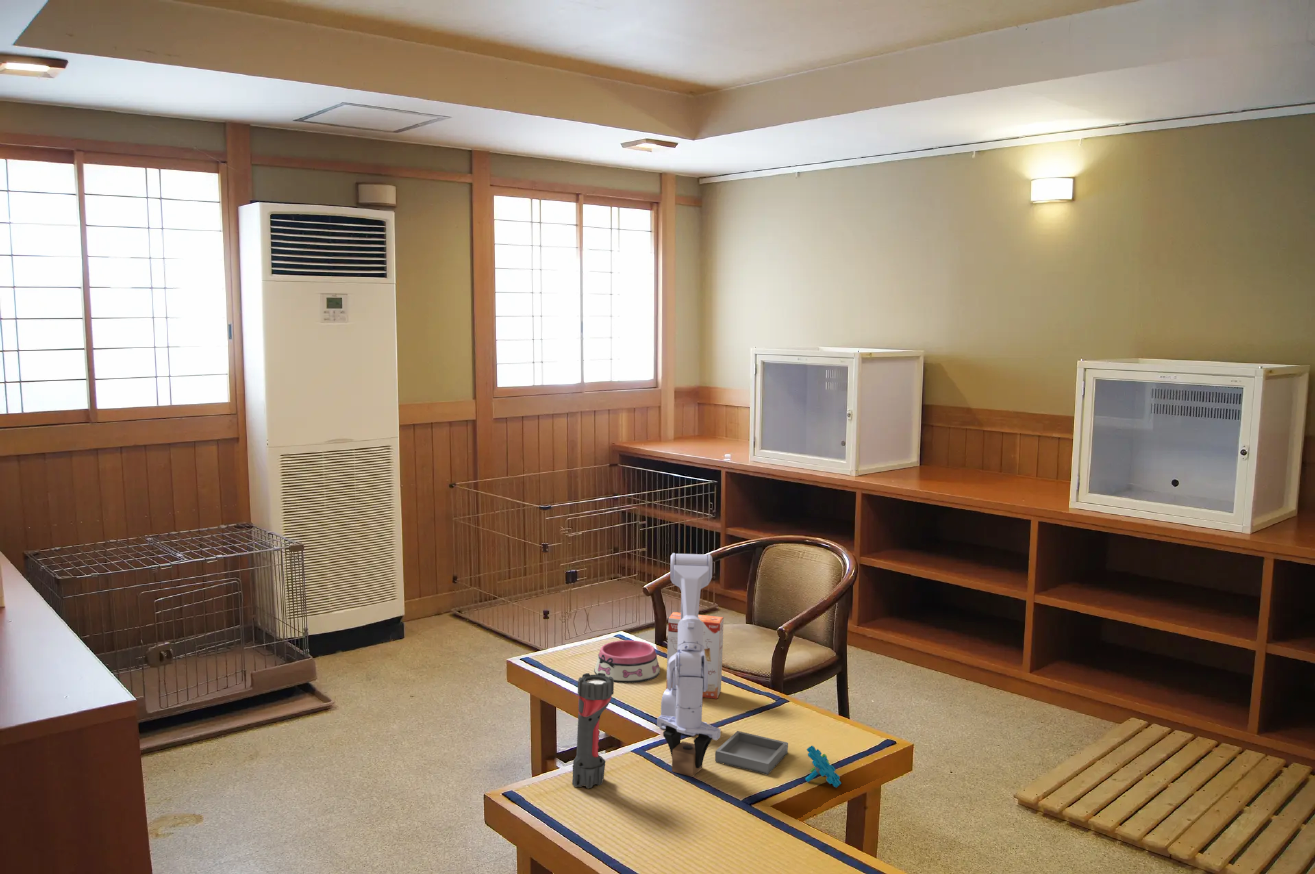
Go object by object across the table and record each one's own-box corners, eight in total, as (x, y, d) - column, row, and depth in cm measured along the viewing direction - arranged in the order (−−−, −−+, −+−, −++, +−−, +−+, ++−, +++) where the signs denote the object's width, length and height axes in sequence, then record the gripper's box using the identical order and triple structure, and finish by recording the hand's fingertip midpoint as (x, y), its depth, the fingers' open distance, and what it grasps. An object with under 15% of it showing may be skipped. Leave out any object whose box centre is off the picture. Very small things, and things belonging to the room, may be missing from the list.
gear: (841, 789, 201) (809, 751, 203) (820, 806, 202) (788, 768, 204) (844, 773, 212) (814, 737, 214) (824, 789, 213) (794, 753, 215)
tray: (715, 761, 216) (715, 751, 216) (737, 740, 227) (737, 730, 227) (767, 774, 210) (768, 764, 210) (787, 752, 222) (788, 742, 221)
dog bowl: (580, 670, 272) (581, 646, 271) (630, 656, 285) (630, 633, 284) (623, 689, 259) (624, 664, 258) (673, 673, 271) (674, 649, 270)
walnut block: (671, 771, 211) (672, 749, 210) (682, 762, 215) (682, 740, 215) (692, 776, 209) (693, 754, 208) (702, 767, 213) (703, 745, 213)
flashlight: (615, 775, 209) (617, 673, 206) (605, 792, 201) (607, 686, 198) (581, 770, 210) (582, 669, 208) (570, 787, 203) (571, 682, 200)
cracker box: (665, 694, 255) (667, 617, 253) (670, 686, 261) (672, 610, 259) (717, 700, 252) (720, 622, 249) (721, 691, 258) (724, 615, 255)
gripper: (651, 703, 210) (649, 762, 212) (711, 717, 203) (709, 778, 205) (665, 692, 216) (664, 750, 218) (725, 705, 210) (723, 765, 211)
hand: (687, 763), depth 212 cm, fingers closed on walnut block, 5 cm apart
